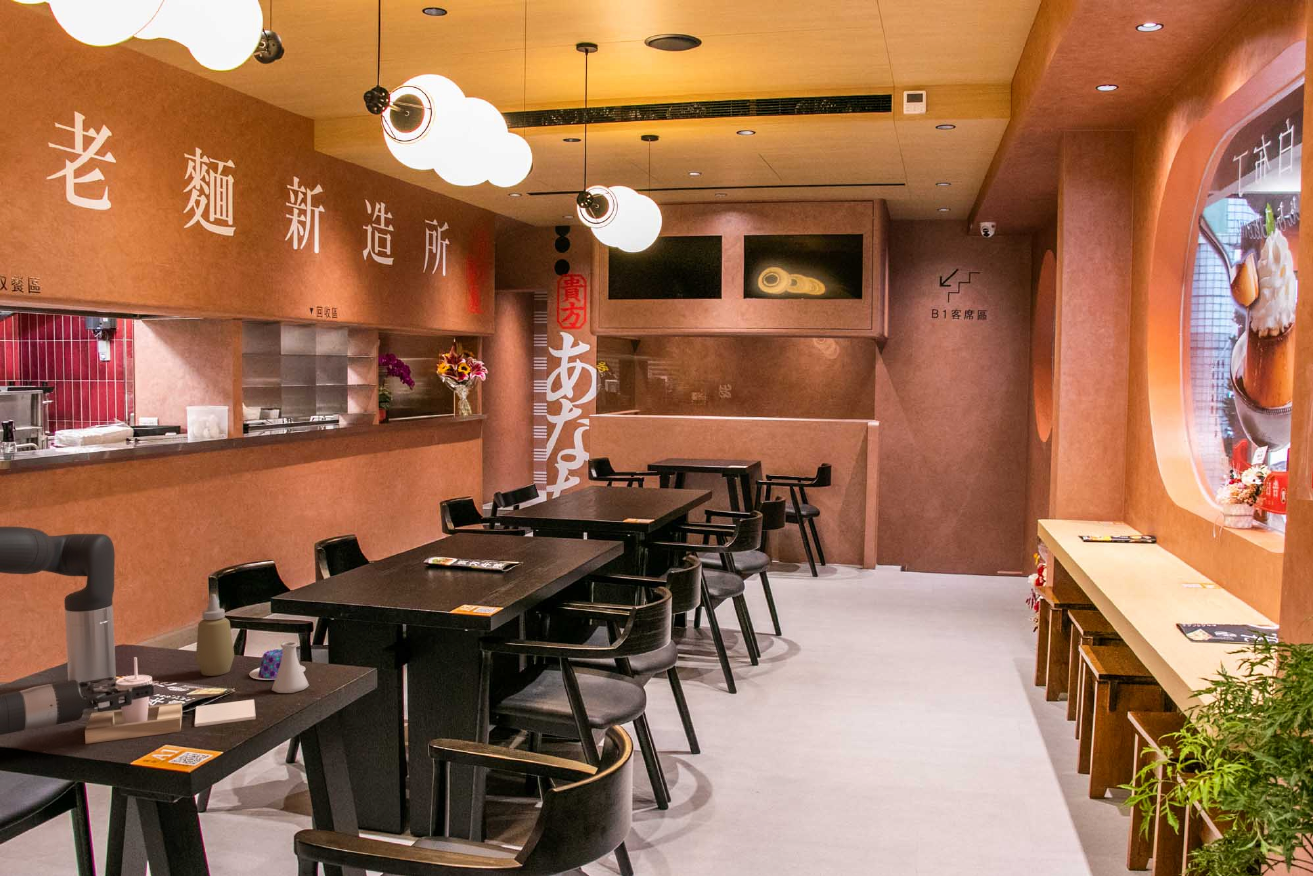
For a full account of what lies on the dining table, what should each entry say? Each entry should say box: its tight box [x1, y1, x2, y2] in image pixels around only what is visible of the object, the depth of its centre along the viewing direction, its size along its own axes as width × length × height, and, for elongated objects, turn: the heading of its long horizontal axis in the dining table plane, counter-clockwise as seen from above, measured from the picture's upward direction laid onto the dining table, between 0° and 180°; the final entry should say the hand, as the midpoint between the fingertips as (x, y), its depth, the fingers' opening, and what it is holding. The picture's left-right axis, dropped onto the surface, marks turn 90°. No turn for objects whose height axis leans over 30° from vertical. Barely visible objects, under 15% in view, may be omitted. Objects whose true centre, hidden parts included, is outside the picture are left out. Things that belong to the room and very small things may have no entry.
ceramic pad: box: [194, 699, 257, 728], centre depth 208 cm, size 11×11×1 cm
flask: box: [271, 641, 310, 694], centre depth 224 cm, size 7×7×10 cm
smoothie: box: [115, 656, 153, 724], centre depth 200 cm, size 6×6×14 cm
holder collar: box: [84, 701, 183, 744], centre depth 200 cm, size 10×16×2 cm, turn 113°
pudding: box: [248, 648, 306, 681], centre depth 235 cm, size 12×12×5 cm
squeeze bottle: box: [195, 593, 235, 677], centre depth 236 cm, size 8×8×18 cm
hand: (147, 685), depth 201 cm, fingers closed on smoothie, 6 cm apart
